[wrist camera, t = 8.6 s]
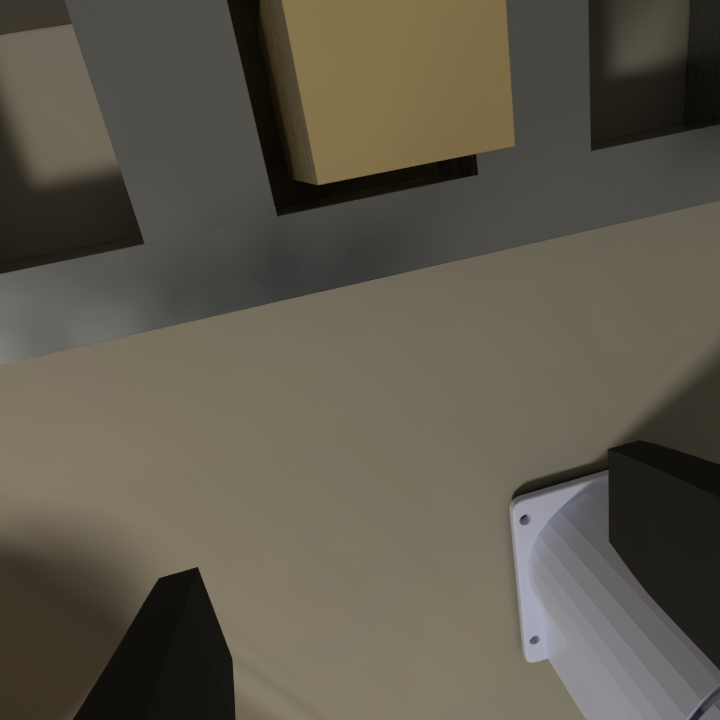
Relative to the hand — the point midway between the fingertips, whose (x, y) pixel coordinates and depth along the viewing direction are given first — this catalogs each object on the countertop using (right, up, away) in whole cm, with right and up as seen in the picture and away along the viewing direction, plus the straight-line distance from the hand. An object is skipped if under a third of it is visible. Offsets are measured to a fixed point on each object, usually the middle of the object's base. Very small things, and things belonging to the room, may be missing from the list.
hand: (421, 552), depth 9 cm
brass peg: (-2, +11, +7) cm, 13 cm away
